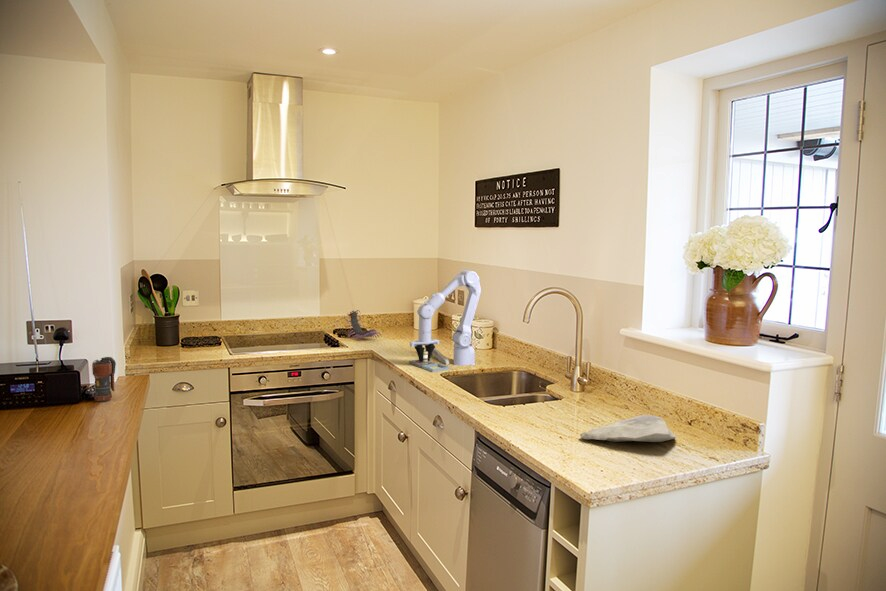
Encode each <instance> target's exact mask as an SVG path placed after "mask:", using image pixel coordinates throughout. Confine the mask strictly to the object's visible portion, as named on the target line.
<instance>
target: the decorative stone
mask: <svg viewBox="0 0 886 591" xmlns="http://www.w3.org/2000/svg"><path fill="white" fill-rule="evenodd" d="M579 436H580V438H582V439H584V440H599V441H609V442H611V443H612V442H613V443H615V442H617V443H618V442H632V441H633V442H646V443H661V442H666V441H672V440H675V439H677V436H676V434H675V433H673V432H672V430H670V429H669V427H668V425H667V423H666V422H665V420H664V419H663V418H662V417H661V416H657V415H653V414H639V415H636V416H634V417H630V418H627V419H626V418H625V419H620V420H617V421H615V422H613V423H611V424H609V425H604V426H602V425H601V426H598V427H595V428H592V429H590V430H589V431H588V432H584V433H583V432H582V433H580V435H579Z"/></svg>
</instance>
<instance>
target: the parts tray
mask: <svg viewBox="0 0 886 591" xmlns="http://www.w3.org/2000/svg"><path fill="white" fill-rule="evenodd" d="M434 367H435V368H434ZM437 367H438V368H437ZM450 368H451V367H450V366H449V365H446V364H442V363H440V362H438V363H435V364H428V365H422V368H421V369H423V370H425V371H429V372H432V373H436V372H444V371H450Z"/></svg>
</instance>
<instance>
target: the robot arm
mask: <svg viewBox="0 0 886 591" xmlns="http://www.w3.org/2000/svg"><path fill="white" fill-rule="evenodd" d="M463 286H465V288H466V289H467V291H468V294H467V298H466V301H465V306H464V309H463V311H462V316H461V319H460V323H459V325H458V326H457V327H456V330H455V331H454V333H453V334H452V337H451V338H452V341H453V343H454V344H453V359H452V360H453V365H455V366H461V367H465V366H473V365H475V366H476V364H475V361H476V360H475V357H476V353H475V352H476V351H475V349H474V347H473V346H472V334H473V332H472V325H473V321H474V318H475V315H476V314H475V313H476V311H477V308H478V304H479V300H480V297H481V293H482V288H481V283H480V276H479V275H478V274H477V272H476V271H473V270H468V269H462V270H460V272H459V273H457V274H456V275H455V276H454V277H453V278H452V279H451V281H449V282H448V284H447V285H446V286H445V287H444V288H443V289H442V290H441V291H440V292H435V293H432V294H431V297H430V298H428V300H425V301H424V302H423V304H421V305H420V306H419V307H418V309H417V311H416V313H417V315H418V339H417V340H414V341H410V342H409V347H411V348H414V349H415V351H416V353H417V357H418V360H419V361H420V362H423V353H424V351H428V361H430V362H431V357H432V355H431V354H432V352H433V350H434V348H436V345H440V340H439V339H432V317H433V316H434V313H435V311H436V310H438V309H439V308H440V307H441V306H442V305H443V304H444V303H445V300H446V297H448V296H449V295H450V294H452V293H453V291H455V290H456V289H457V288H459V287H463ZM431 339H432V340H431ZM423 346H424V347H423Z"/></svg>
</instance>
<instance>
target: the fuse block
mask: <svg viewBox="0 0 886 591" xmlns="http://www.w3.org/2000/svg"><path fill="white" fill-rule="evenodd" d="M408 364H409V365H412V366H415V367H416V368H419V369H423V368H422V365H428V364H436V363H435V362H433V361H431V360H430V361H428V364H421V362H420V361H419V359H413V360H408Z"/></svg>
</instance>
